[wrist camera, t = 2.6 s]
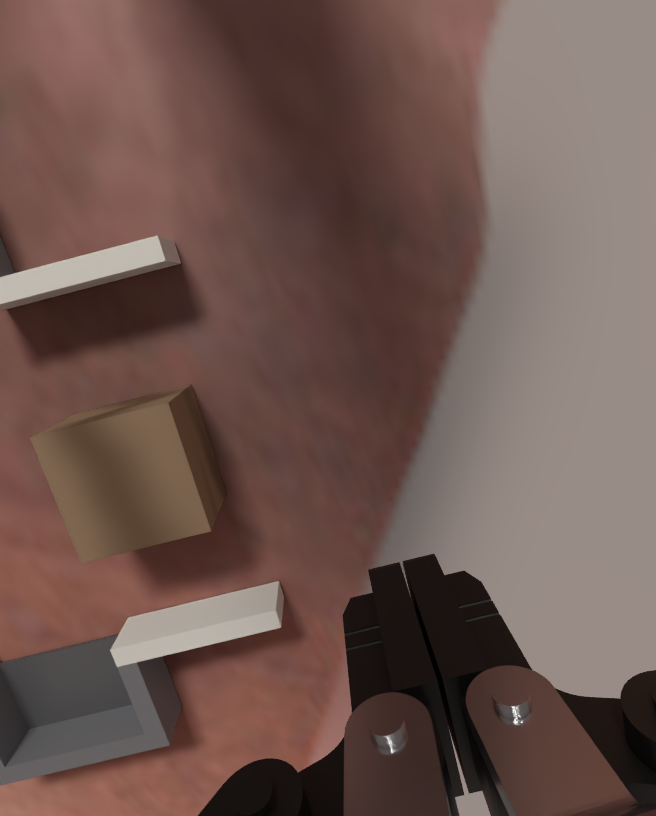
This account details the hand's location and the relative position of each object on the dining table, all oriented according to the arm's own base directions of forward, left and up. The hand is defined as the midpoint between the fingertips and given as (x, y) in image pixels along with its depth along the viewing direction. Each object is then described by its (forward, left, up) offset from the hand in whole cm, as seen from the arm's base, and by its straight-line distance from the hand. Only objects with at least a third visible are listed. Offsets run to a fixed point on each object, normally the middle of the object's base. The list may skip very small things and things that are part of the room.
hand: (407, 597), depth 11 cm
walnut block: (+12, 0, -19) cm, 23 cm away
